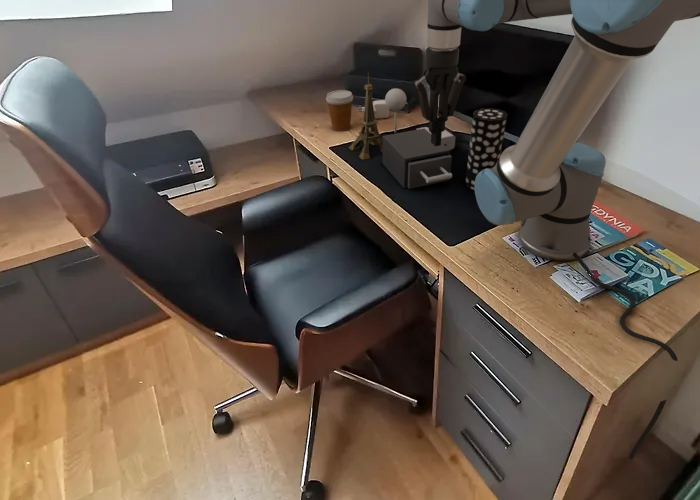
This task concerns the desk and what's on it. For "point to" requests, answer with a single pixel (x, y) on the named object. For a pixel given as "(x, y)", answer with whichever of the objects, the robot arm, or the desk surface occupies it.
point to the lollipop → (395, 101)
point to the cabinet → (408, 151)
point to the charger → (445, 138)
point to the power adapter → (379, 109)
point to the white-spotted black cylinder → (485, 142)
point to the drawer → (428, 170)
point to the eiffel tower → (368, 122)
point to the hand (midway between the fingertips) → (435, 143)
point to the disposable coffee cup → (340, 108)
